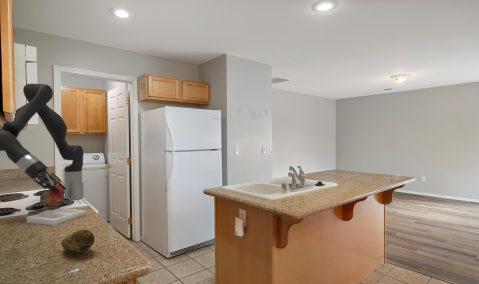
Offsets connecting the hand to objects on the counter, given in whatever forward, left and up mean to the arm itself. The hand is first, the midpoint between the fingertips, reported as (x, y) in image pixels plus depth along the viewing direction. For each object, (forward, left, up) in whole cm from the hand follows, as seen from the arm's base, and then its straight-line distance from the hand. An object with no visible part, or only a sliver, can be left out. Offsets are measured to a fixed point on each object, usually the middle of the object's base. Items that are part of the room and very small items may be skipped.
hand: (61, 191), depth 122 cm
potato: (+26, +40, -13) cm, 50 cm away
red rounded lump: (+1, -2, -4) cm, 5 cm away
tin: (-16, -27, -13) cm, 34 cm away
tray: (+1, -1, -13) cm, 13 cm away
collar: (-5, -16, -13) cm, 21 cm away
